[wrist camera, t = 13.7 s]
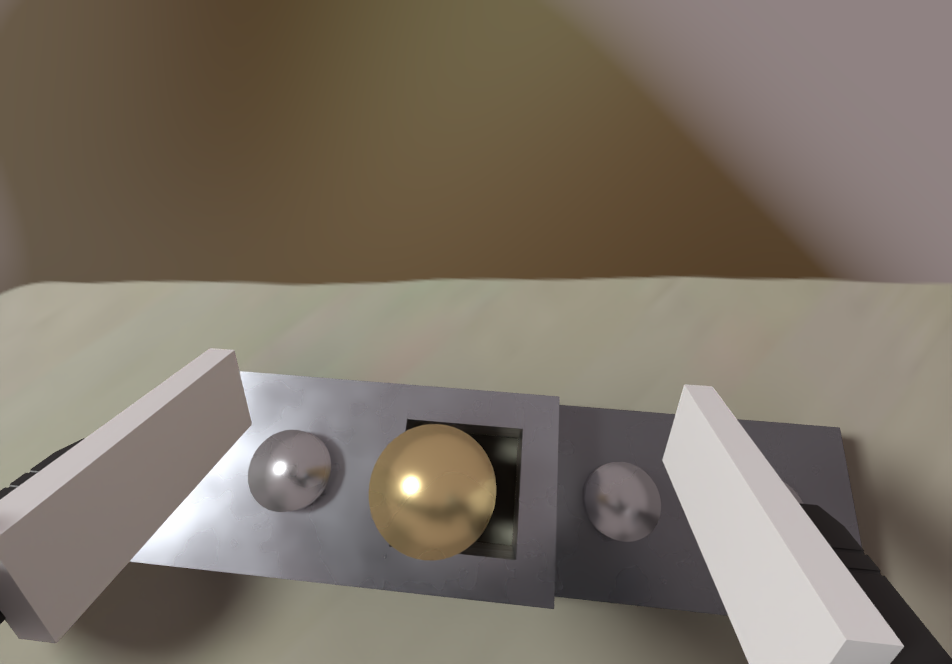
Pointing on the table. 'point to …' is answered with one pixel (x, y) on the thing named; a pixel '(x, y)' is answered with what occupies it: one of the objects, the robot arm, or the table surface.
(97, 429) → the robot arm
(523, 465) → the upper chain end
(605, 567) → the lower chain end
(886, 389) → the table surface
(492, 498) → the brass link pin
